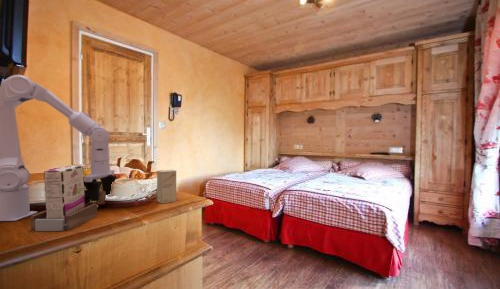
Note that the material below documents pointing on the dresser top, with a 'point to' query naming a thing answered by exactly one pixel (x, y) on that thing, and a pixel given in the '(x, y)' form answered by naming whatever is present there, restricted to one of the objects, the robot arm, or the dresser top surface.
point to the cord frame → (59, 223)
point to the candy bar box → (64, 191)
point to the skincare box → (166, 186)
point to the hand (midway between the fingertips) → (101, 197)
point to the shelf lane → (70, 217)
